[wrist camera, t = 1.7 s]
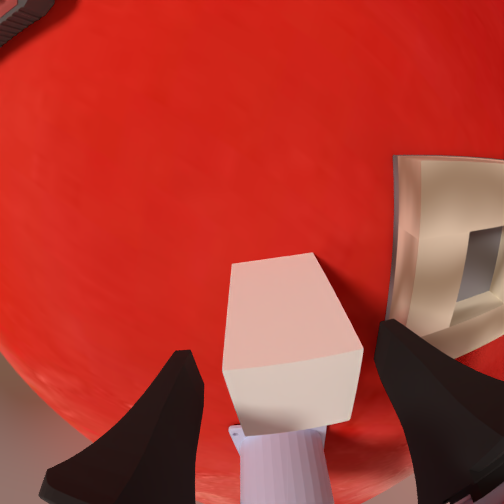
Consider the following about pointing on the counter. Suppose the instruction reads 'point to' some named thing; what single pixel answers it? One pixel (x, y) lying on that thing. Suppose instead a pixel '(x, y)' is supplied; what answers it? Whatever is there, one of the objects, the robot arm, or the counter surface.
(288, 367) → the white rectangular block
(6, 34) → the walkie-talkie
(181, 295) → the counter surface
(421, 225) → the holder block
